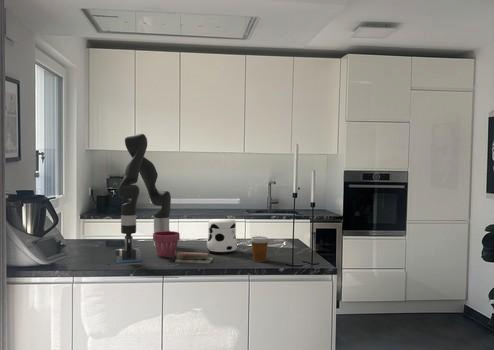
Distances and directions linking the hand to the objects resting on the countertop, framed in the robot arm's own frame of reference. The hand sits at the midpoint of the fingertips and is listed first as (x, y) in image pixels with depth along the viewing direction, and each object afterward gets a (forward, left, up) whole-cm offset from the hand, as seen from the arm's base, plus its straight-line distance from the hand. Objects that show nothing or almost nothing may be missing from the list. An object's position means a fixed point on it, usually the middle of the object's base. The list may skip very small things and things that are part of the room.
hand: (128, 256), depth 242 cm
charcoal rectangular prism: (+1, 0, -1) cm, 2 cm away
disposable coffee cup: (-66, +14, -3) cm, 68 cm away
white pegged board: (0, -6, -2) cm, 6 cm away
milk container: (-52, -12, -3) cm, 53 cm away
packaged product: (-33, +7, -3) cm, 34 cm away
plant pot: (-20, -7, -3) cm, 21 cm away
